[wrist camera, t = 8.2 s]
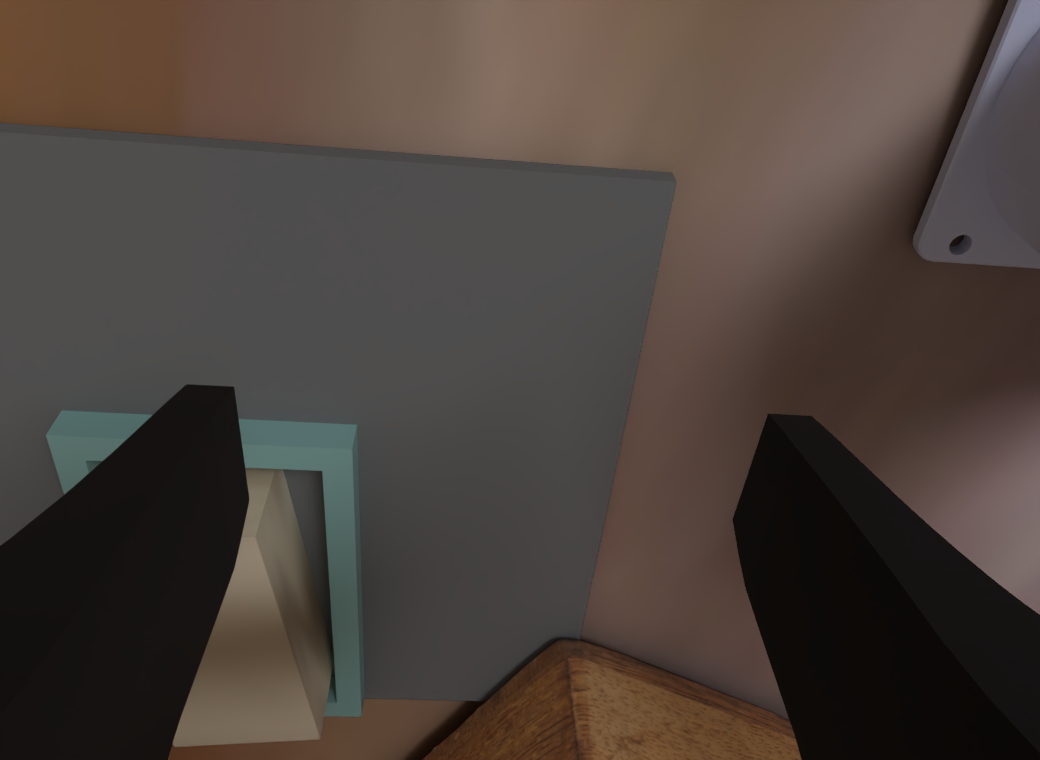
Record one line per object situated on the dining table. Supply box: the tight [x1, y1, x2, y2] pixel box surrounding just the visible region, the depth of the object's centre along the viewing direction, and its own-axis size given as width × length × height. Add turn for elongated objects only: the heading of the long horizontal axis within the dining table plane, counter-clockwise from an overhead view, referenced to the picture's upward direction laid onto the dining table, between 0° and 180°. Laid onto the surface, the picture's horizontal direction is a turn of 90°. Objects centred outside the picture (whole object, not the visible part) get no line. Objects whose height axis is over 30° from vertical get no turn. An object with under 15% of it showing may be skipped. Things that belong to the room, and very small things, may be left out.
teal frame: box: [46, 410, 365, 717], centre depth 26 cm, size 8×12×1 cm, turn 175°
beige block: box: [173, 468, 334, 747], centre depth 25 cm, size 9×4×3 cm, turn 2°
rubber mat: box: [0, 123, 676, 701], centre depth 24 cm, size 18×20×1 cm
